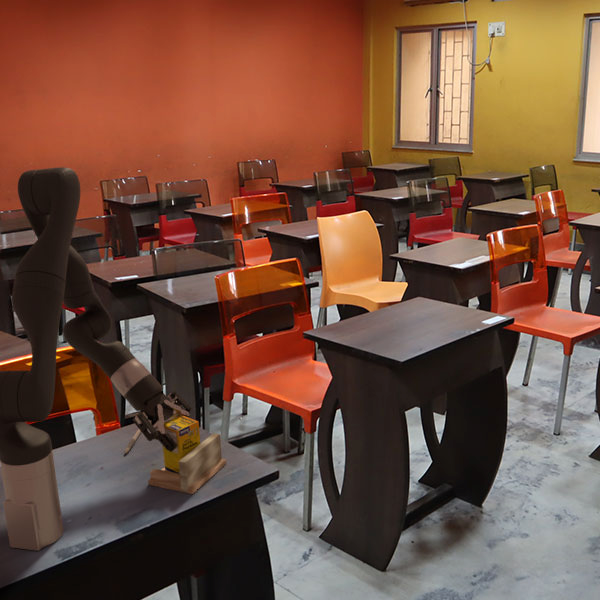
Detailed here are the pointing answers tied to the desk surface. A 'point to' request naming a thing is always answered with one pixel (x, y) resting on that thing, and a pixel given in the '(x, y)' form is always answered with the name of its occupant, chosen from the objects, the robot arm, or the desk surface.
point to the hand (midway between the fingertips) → (185, 440)
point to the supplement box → (180, 440)
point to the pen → (132, 441)
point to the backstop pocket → (192, 468)
